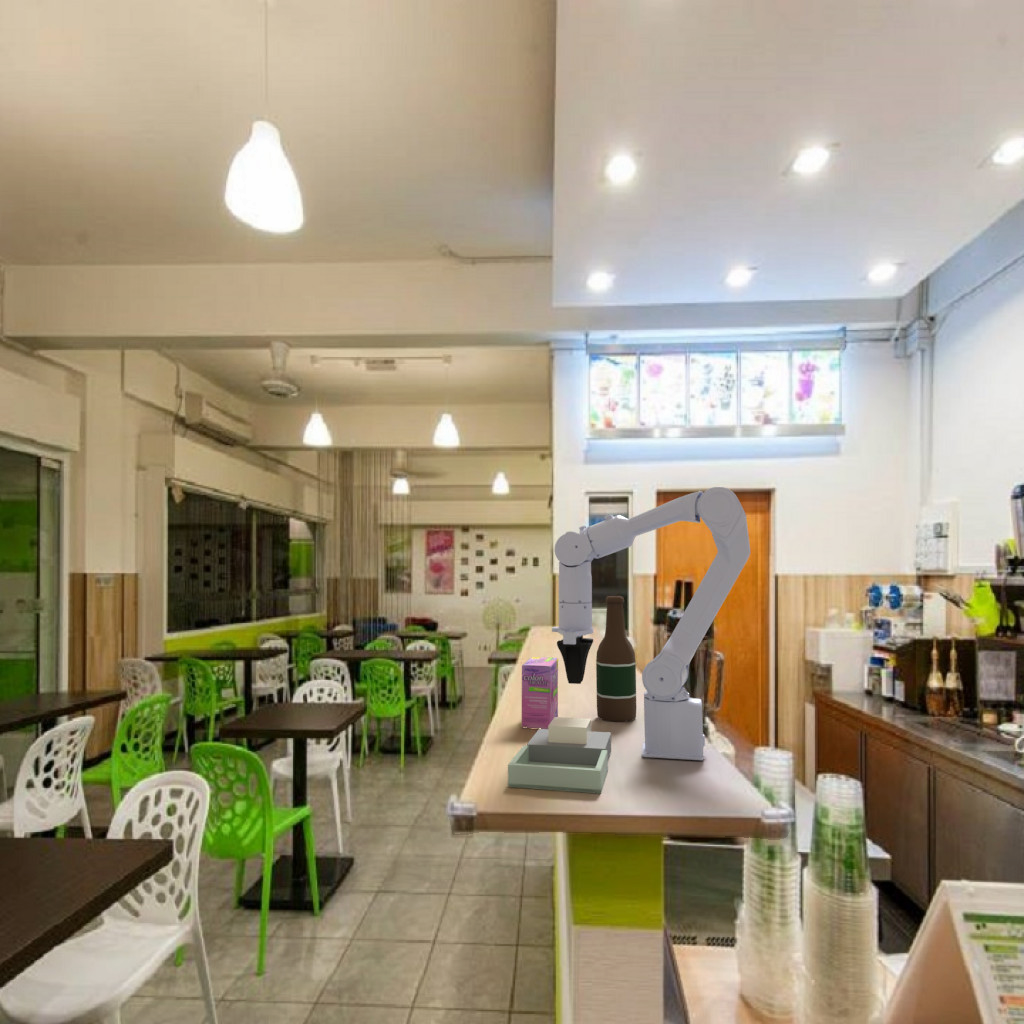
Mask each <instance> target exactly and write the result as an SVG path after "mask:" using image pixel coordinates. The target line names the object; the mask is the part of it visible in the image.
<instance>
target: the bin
mask: <svg viewBox="0 0 1024 1024" xmlns="http://www.w3.org/2000/svg"><path fill="white" fill-rule="evenodd" d="M608 763H609V760H608V752H607V750H602V751H601V754H600V757H599V760H598V762H597V765H596V766H591V765H576V764H560V763H544V762H529V746H527V744H525V745H522V747H520V749H519V750H518V752H517V753H516V754H515V755H514V757H513V758H512V759H511V761H509V763H508V764H507V787H508V788H518V789H519V788H520V789H534V790H545V791H560V792H561V791H562V792H570V793H571V792H573V793H587V794H598V795H599V794H602V791H603V788H604V784H605V781H606V777H607V774H608V772H609V766H608Z"/></svg>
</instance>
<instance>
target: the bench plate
mask: <svg viewBox="0 0 1024 1024" xmlns="http://www.w3.org/2000/svg"><path fill="white" fill-rule="evenodd" d="M526 745H527V746H529V762H544V763H560V764H576V765H591V766H596V765H597V762H598V760H599V757H600V754H601V751H602V750H607V752H608V761H609V760H610V759H609V758H610V756H611V754H612V732H611V731H610V732H609V731H607V732H606V731H592V730H591V736H590V738H589V741H588V743H587V744H573V743H555V742H548V729H537V731H536V732H535V734H534V735H532V737H531V739H530V740H528V743H526Z"/></svg>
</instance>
